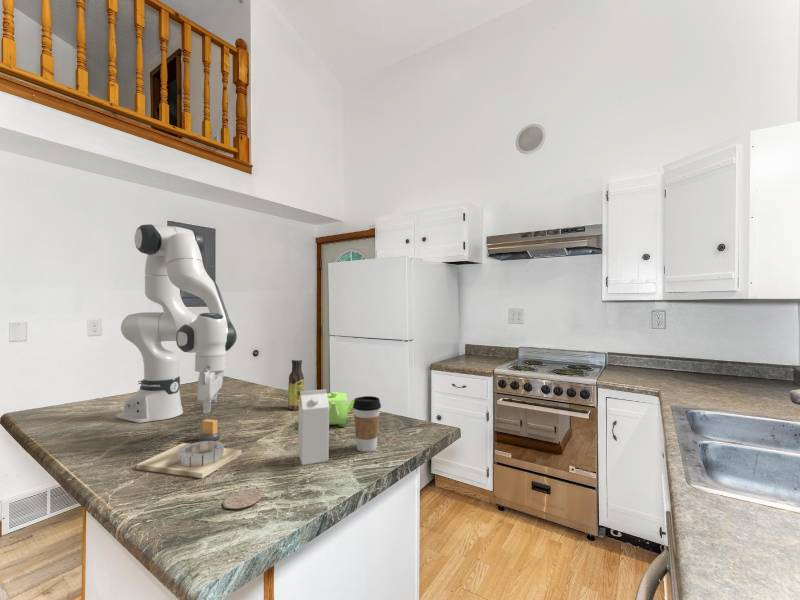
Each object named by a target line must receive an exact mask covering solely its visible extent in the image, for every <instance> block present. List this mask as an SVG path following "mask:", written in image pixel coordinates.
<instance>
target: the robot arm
mask: <svg viewBox="0 0 800 600" xmlns="http://www.w3.org/2000/svg"><path fill="white" fill-rule="evenodd" d="M133 239H134V244H135V248H136V249H137V250H138V252H140V253H142V254H145V255H147V256H146V260H145V265H144V268H145V269H144V294H145V296H146V298H147V299H148V300H150V301H151V302H153V303H155V304H158V305H160V306H161V308H162V309H163V312H160V311H159V312H157V311H155V312H151V311H149V312H148V311H147V312H137V313H136V312H135V313H132V314H128V315H126V316H125V317H124V319H122V321H121V325H120V331H121V334H122V336H123V337H124V338H125V340H127V341H129V342H130V343H132V344H133V345H134V346H135V347H136V348H137V349H138V351H139V352H140V355H141V356H142V361H143V376H144V377H143V379H141V380H138V381H137V382H138V384H137V385H140V386H139V389H138V390H137V391H135V392H134V393H133V394H132V395H131V396H129V397H128V398H127V399H126V400H125V402H124V406H123V411H120V412H118V413H117V414H115V418H116V419H120V420H125V421H130V422H134V423H137V424H139V423H140V424H141V423H146V422H155V421H162V420H163V421H164V420H168V419H171V418H172V419H173V418H175V417H179V416H181V415H182V414H184V410H183V405H182V402H181V399H182V398H181V392H180V386H181V377H180V376H179V375H180V374H179V373H180V371H179V370H180V364H179V363H180V360H179V356H178V355H177V354H176V353H175V352H174V351H171V350H168V349H166V348H165V347H164V346H163V345H162V342H176V345H177V347H178V349H180V350H181V351H182V352H184V353H188V354H191V353H195V355H194V356H195V359H194V371H195V372H197V373H199V375H198V380H197V392H196V397H197V398H196V399H197V401H198V402H200V401H201V403H202V408H203V409H202V410H203V414H210V412H211V411H212V407H213V406H216V405H217V398H218V394H219V393H218V392H219V391H220V390H221V388H222V386H223V381H224V380H223V379H224V374H225V373H224V371H225V370H227V351H229V350H230V349H231V348H232V347H233V346H234V345H235V344H236V342H237V335H238V334H237V331H236V328H235V327H234V325H233V323H232V322H231V319H230V316H229V314H228V311H227V308H226V305H225V303H224V300H223V299H224V298H223V296H222V294H221V291H220V288H219V286H218V284H217V283H216V282H215V280H214V279H212V278H211V277H210V275H209V274H208V273H207V271H206V269H205V266H204V263H203V257H202V254H203V253H204V250H205V245H206V243H205V242H206V241H205V237H204V235H203V234H202V232H200V231H198V230H197V229H192V228H189V229H188V228H185V227H180V226H174V225H171V226H170V225H158V224H157V225H155V224H141V225H140V226H139V227H138V228H137V229H136V230H135V234H134V238H133ZM181 291H184V292H186V293H189V294H191V295H193V296H196V297H198V298H200V300H202V301H203V302H204V303H205V304H206V306H207V309H208V312H202V313H199V314H198V315H196V314H194V312H192V311H191V310H189V309H188V308H187V306H186V304H184V302H183V299H182V296H181Z"/></svg>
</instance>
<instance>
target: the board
mask: <svg viewBox="0 0 800 600" xmlns="http://www.w3.org/2000/svg"><path fill="white" fill-rule="evenodd" d="M189 444H190V443H184V442H182V443H180V444H178V445H176V446H174V447H171V448H169V449H168V450H165V451H162V452H160V453H158V454H156V455H154V456H152V457H150V458H148V459H145V460H143V461H142V462H139V463H137V464H136V470H139V471H146V472H147V471H148V472H155V473H162V474H168V475H169V474H170V475H175V476H183V477H189V478H190V477H191V478H196V479H197V478H198V479H204V478H205V477H206V476H208V475H210V474H211V473H214V472H215V471H217V470H219V469H220V468H221V467H223V466H224V465H227V464H228V463H229V462H231V461H234V460H235V459H236V458H238V457H239V456H241V455H242V449H236V448H228V447H227V448H226V447H224V454H223V457H222V458H221V459H219V460H218V461H216V462H214V463H211V464H207V465H204V466H203V465H202V466H197V467H185V466H180V465H179V464H178V463H177V452H178V451H179V449H181V448H182V447H184V446H186V445H189ZM205 453H206V452H205ZM198 454H202V453H198Z"/></svg>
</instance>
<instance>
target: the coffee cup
mask: <svg viewBox="0 0 800 600" xmlns="http://www.w3.org/2000/svg"><path fill="white" fill-rule="evenodd" d="M380 401H381V400H380V398H379V397H377V396H370V395H369V396H367V395H366V396H359V397H356V398H355V401H354V404H353V407H352V409H353V411H354V414H353V417H354V430H355V441H356V449H357V451H359V452H364V453H368V452H373V451H375V450H377V448H378V447H377V446H378V435H379V426H380V418H381V417H380V416H381V414H380V409H381V408H382V405H381V404H382V403H381V402H380Z"/></svg>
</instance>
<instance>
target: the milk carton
mask: <svg viewBox="0 0 800 600" xmlns="http://www.w3.org/2000/svg"><path fill="white" fill-rule="evenodd" d="M327 391H328V390H327V389H316V390H315V389H313V390H304V391H301V396H300V400H299V409H298V438H297V439H298V448H297V450H298V451H297V452H298V453H297V454H298V457H299V461H300V463H301V465H302V466H306V465H311V464H317V463H324V462H328V461H329V454H330V452H329V449H330V448H329V443H330V441H329V439H330V432H329V431H330V425H329V403H328V398H327V393H328V392H327Z"/></svg>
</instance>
